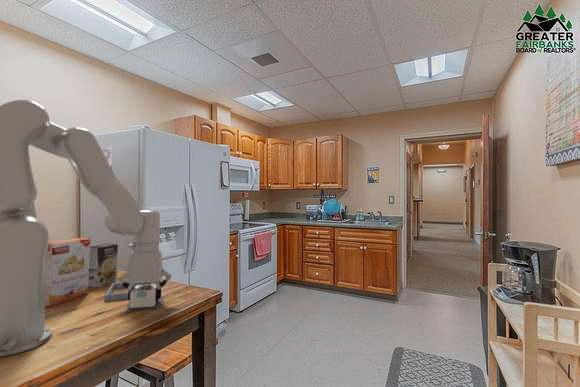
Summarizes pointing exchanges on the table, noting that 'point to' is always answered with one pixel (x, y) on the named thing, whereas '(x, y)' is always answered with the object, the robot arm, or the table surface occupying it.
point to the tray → (119, 296)
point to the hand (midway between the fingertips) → (144, 300)
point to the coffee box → (102, 265)
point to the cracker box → (66, 270)
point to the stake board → (157, 306)
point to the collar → (142, 297)
